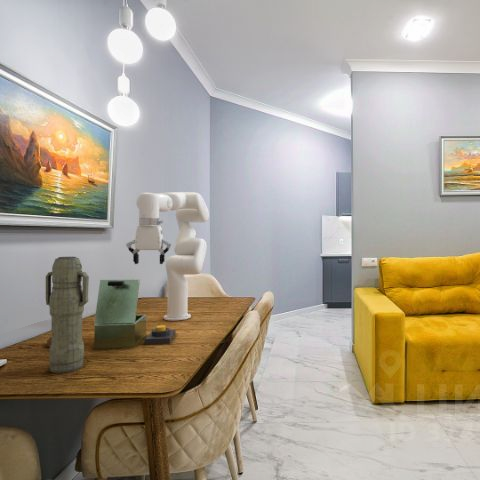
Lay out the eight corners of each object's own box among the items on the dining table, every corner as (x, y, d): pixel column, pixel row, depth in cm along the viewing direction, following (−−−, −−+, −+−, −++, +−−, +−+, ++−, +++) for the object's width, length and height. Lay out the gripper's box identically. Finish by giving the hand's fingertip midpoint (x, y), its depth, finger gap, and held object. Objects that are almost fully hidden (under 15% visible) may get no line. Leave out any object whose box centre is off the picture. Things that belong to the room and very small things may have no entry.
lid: (101, 280, 133) (95, 277, 128) (139, 279, 136) (135, 276, 131) (94, 324, 128) (88, 323, 123) (135, 323, 131) (130, 321, 126)
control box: (152, 335, 146) (152, 326, 146) (175, 334, 148) (175, 325, 148) (144, 344, 134) (144, 334, 134) (169, 343, 136) (169, 333, 136)
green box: (110, 336, 143) (110, 315, 143) (146, 335, 146) (146, 314, 146) (94, 349, 128) (94, 325, 128) (134, 347, 131) (134, 324, 131)
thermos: (82, 371, 108) (82, 258, 107) (37, 374, 105) (38, 258, 105) (93, 361, 117) (94, 256, 116) (53, 363, 114) (53, 256, 113)
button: (157, 329, 142) (157, 325, 142) (166, 329, 143) (166, 325, 143) (155, 332, 139) (155, 327, 139) (164, 331, 140) (164, 327, 140)
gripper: (173, 223, 151) (173, 262, 152) (129, 222, 148) (129, 262, 148) (169, 223, 144) (169, 264, 144) (123, 222, 140) (123, 264, 141)
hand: (149, 263), depth 146 cm, fingers open, 9 cm apart
